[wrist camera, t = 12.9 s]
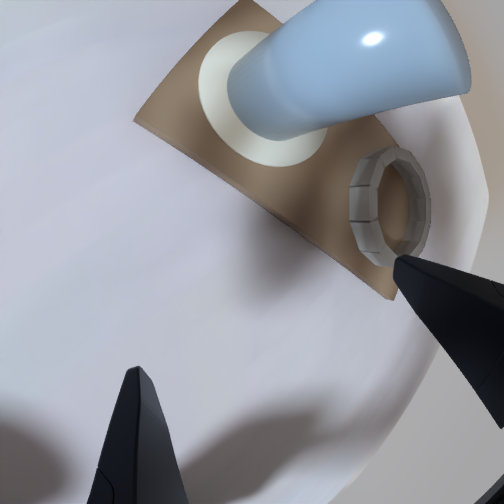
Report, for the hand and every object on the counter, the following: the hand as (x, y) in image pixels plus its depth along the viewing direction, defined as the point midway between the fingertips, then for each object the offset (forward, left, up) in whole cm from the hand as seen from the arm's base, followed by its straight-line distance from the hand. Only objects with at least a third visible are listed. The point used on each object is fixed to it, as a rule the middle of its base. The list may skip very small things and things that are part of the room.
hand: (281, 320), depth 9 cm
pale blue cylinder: (+11, -8, -8) cm, 16 cm away
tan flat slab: (+5, -13, -10) cm, 17 cm away
